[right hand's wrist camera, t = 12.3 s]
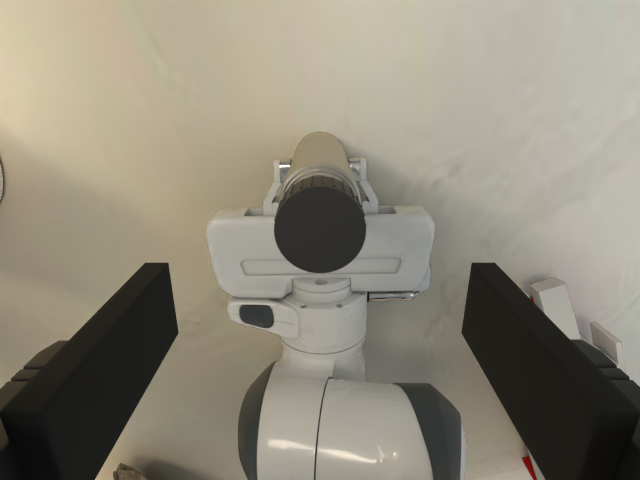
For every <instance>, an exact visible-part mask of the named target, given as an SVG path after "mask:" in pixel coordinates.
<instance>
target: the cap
mask: <svg viewBox="0 0 640 480" xmlns="http://www.w3.org/2000/svg"><path fill="white" fill-rule="evenodd" d="M364 217H365V214H364V211H363V208H362V205H361V204H360V201H359V198H358V196H356V195H355V193H354V192H353V191H352V188H349V187H348V186H347V185H346V184H344V182H343V181H342V182H341V181H339V180H337V179H335V178H334V177H333V178H332V177H327V176H324V175H322V176H314V177H313V176H311V177H309V178H306V179H301V181H299V182H297V183H296V184H293V185H292V187H291V188H290V189H289V190H288V191H287V192H285V194H284V197H283V199H282V200H280V203H279V206H278V209H277V213H276V216H275V219H274V221H275V223H274V237H275V241H276V244H277V246H278V248H279V250H280V252H281V254H282V255H283V256H284V257H285V258H286V260H287V261H289V262H290V263H291V264H292V265H294V266H295V267H297V268H299V269H301V270H304V271H307V272H312V273H328V272H333V271H336V270H339V269H341V268H343V267H345V266H346V265H348V264H349V263H350V262H352V261H353V260H354V259H355V258H356V256H357V255H358V254H359V252H360V251H361V249H362V247H363V245H364V241H365V238H366V227H367V225H366V222H365V218H364Z"/></svg>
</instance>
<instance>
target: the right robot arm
mask: <svg viewBox="0 0 640 480" xmlns="http://www.w3.org/2000/svg"><path fill="white" fill-rule="evenodd" d="M177 335H178V327H177V320H176V313H175V306H174V299H173V293H172V286H171V279H170V272H169V265H168V263H145V264H144V265H143V266H142V267H141V268H140V269H139V270H138V271H137V272H136V273H135V274H134V275H133V276H132V277H131V278H130V279H129V280H128V281H127V282H126V283H125V284H124V285H123V286H122V287H121V288H120V289H119V290H118V291H117V292H116V293H115V294H114V295H113V296H112V297H111V298H110V299H109V300H108V301H107V302H106V303H105V304H104V305H103V306H102V307H101V308H100V309H99V310H98V311H97V312H96V313H95V315H94V316H93V317H92V318H91V319H90V320H89V321H88V322H87V323H86V324H85V325H84V326H83V327H82V328H81V329H80V330H79V331H78V332H77V333H76V334H75V335H74V336H73V337H72V338H71V339H70V340H69V341H58V342H56V343H54V344H52V345H51V346H49V347H47V348H46V349H44V350H42V351H41V352H39V353H38V354H37V355H36V356H35V357H33V358H32V359H31V360H30V361H29V362H28V363H27V364H26V365H25V366H24V369H23V370H20V371H19V372H18V373H17V374H16V375H15V376H13V377H12V378H11V382H7V383H6V384H5V385H4V386H3V387H2V388H1V389H0V480H95V478H96V476H97V475H98V473H99V471H100V469H101V468H102V466H103V464H104V462H105V461H106V459H107V457H108V455H109V454H110V452H111V450H112V448H113V447H114V445H115V443H116V441H117V440H118V438H119V436H120V434H121V433H122V431H123V429H124V427H125V426H126V424H127V422H128V420H129V419H130V417H131V415H132V413H133V412H134V410H135V408H136V406H137V405H138V403H139V401H140V399H141V398H142V396H143V394H144V392H145V391H146V389H147V387H148V385H149V384H150V382H151V380H152V378H153V377H154V375H155V373H156V371H157V370H158V368H159V366H160V364H161V363H162V361H163V359H164V357H165V356H166V354H167V352H168V350H169V349H170V347H171V345H172V343H173V342H174V340H175V338H176V336H177ZM462 335H463V336H464V338H465V340H466V342H467V343H468V345H469V347H470V349H471V350H472V352H473V354H474V356H475V357H476V359H477V361H478V363H479V364H480V366H481V368H482V370H483V371H484V373H485V375H486V377H487V378H488V380H489V382H490V384H491V385H492V387H493V389H494V391H495V392H496V394H497V396H498V398H499V399H500V401H501V403H502V405H503V406H504V408H505V410H506V412H507V413H508V415H509V417H510V419H511V420H512V422H513V424H514V426H515V427H516V429H517V431H518V433H519V434H520V436H521V438H522V440H523V441H524V443H525V445H526V447H527V448H528V450H529V452H530V454H531V455H532V457H533V459H534V461H535V462H536V464H537V466H538V468H539V469H540V471H541V473H542V475H543V476H544V478H545V480H640V387H639V386H638V385H637V384H636V383H635V382H634V381H633V380H630V379H629V376H627V375H626V374H625V373H624V372H623V371H622V370H621V369H620V368H617V365H616V364H615V363H614V362H613V361H612V360H611V359H609V358H608V357H607V356H606V355H605V354H604V353H603V352H602V351H600V350H599V349H597V348H595V347H594V346H592V345H590V344H588V343H587V342H585V341H583V340H582V339H569V338H568V337H567V336H566V335H565V334H564V333H563V332H562V331H561V330H560V329H559V328H558V327H557V326H556V325H555V324H554V323H553V322H552V321H551V320H550V319H549V318H548V317H547V316H546V315H545V313H544V312H543V311H542V310H541V309H540V308H539V307H538V306H537V305H536V304H535V303H534V302H533V301H532V300H531V299H530V298H529V297H528V296H527V295H526V294H525V293H524V292H523V291H522V290H521V289H520V288H519V287H518V286H517V285H516V284H515V283H514V282H513V281H512V280H511V279H510V278H509V277H508V276H507V275H506V274H505V273H504V272H503V271H502V270H501V269H500V268H499V267H498V266H497V265H496V264H495V263H472V265H471V272H470V279H469V286H468V293H467V299H466V306H465V313H464V320H463V327H462Z"/></svg>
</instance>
